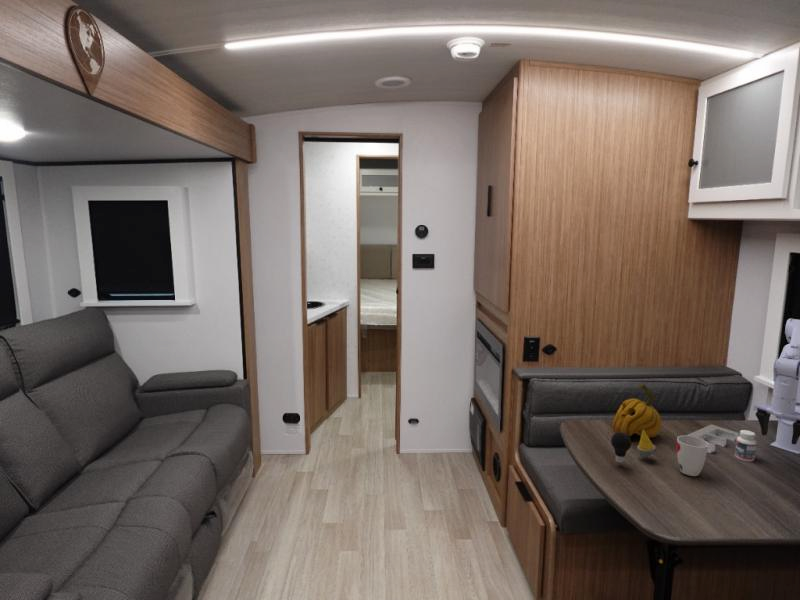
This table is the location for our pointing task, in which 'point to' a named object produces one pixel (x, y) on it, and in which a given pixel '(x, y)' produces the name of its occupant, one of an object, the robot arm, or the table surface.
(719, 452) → the table surface
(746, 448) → the pill bottle
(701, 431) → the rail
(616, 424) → the pumpkin
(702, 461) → the cup
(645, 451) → the yellow cone
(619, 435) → the light bulb
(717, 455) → the table surface
